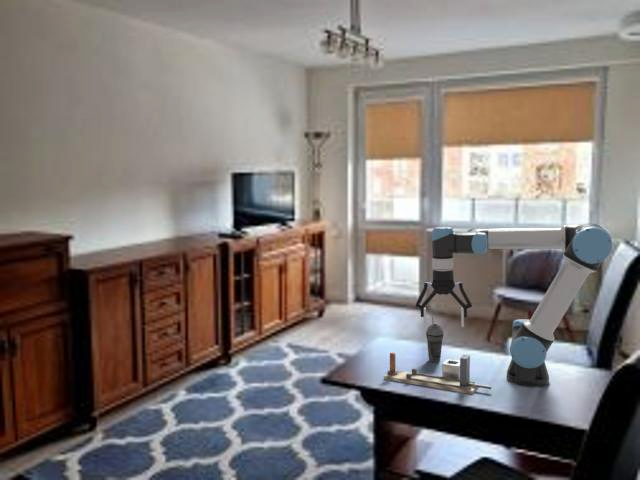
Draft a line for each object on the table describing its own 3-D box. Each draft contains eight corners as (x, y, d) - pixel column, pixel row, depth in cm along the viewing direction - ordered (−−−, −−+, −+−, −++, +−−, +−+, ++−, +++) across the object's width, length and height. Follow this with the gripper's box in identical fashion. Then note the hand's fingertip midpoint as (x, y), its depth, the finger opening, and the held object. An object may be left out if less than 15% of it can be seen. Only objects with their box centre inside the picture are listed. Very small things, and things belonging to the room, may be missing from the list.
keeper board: (478, 386, 212) (478, 362, 211) (472, 394, 205) (473, 369, 204) (391, 372, 228) (391, 349, 227) (383, 379, 221) (383, 355, 220)
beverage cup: (443, 364, 237) (444, 316, 235) (425, 363, 239) (425, 315, 236) (443, 358, 244) (443, 312, 242) (425, 357, 246) (426, 311, 243)
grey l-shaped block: (492, 386, 208) (492, 358, 207) (489, 391, 204) (490, 362, 203) (462, 381, 213) (463, 354, 212) (459, 386, 209) (460, 358, 208)
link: (462, 376, 223) (463, 361, 222) (458, 381, 217) (458, 366, 217) (446, 373, 226) (446, 358, 225) (441, 378, 220) (442, 363, 220)
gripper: (477, 267, 212) (477, 323, 215) (408, 267, 217) (410, 322, 219) (478, 270, 205) (479, 328, 207) (408, 271, 210) (409, 328, 212)
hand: (443, 325), depth 213 cm, fingers open, 13 cm apart
